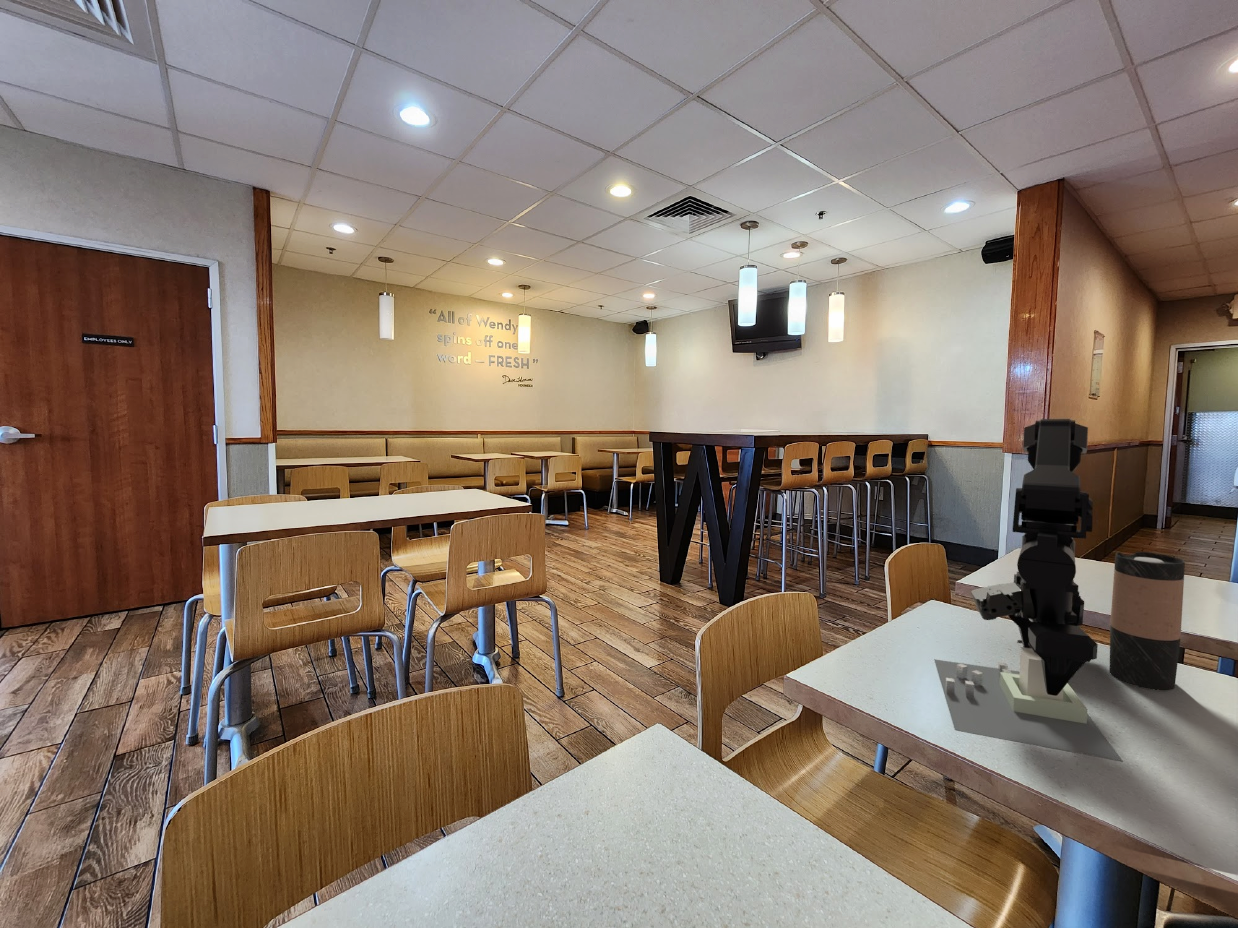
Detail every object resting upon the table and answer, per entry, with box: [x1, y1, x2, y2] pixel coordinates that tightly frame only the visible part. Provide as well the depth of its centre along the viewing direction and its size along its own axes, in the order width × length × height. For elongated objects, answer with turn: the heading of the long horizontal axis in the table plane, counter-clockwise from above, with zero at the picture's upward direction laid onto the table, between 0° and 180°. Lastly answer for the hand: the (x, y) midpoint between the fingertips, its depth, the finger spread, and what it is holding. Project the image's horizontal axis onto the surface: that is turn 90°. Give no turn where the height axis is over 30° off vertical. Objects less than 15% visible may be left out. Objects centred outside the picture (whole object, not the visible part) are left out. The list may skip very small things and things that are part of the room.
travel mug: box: [1109, 551, 1186, 692], centre depth 82 cm, size 8×8×20 cm
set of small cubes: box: [946, 661, 1012, 698], centre depth 82 cm, size 10×9×2 cm
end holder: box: [1000, 672, 1088, 724], centre depth 76 cm, size 8×8×2 cm
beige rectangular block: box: [1019, 646, 1063, 701], centre depth 76 cm, size 4×4×7 cm
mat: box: [934, 658, 1124, 762], centre depth 77 cm, size 22×17×1 cm
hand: (1041, 678), depth 76 cm, fingers open, 9 cm apart
